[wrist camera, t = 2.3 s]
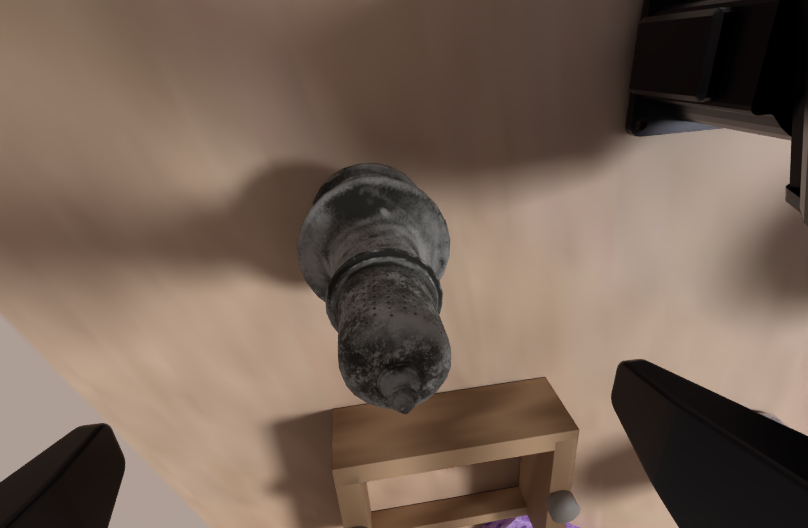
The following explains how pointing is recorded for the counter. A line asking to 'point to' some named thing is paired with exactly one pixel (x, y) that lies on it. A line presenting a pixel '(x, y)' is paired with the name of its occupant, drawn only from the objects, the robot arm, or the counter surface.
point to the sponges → (516, 523)
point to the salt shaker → (380, 282)
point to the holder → (460, 455)
